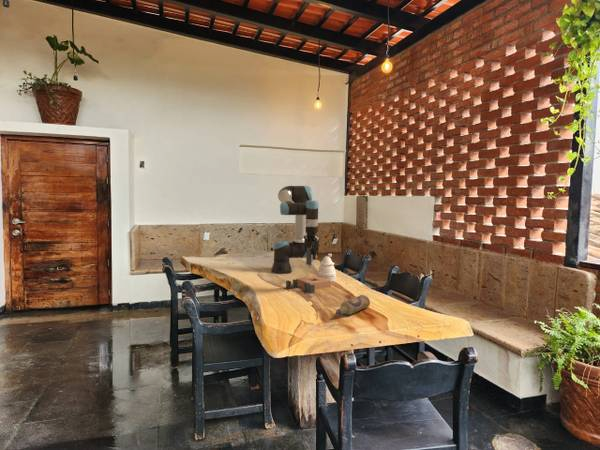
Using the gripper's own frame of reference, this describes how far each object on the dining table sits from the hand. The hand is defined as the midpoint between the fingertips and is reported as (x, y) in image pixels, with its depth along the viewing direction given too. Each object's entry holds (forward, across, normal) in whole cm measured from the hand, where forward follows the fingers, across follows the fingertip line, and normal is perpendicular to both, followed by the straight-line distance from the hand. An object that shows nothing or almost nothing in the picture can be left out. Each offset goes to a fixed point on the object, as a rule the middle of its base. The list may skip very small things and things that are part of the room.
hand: (310, 264), depth 230 cm
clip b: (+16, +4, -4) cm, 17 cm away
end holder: (+16, -7, +7) cm, 19 cm away
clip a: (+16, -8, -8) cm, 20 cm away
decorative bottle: (+16, +46, -8) cm, 50 cm away
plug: (+2, 0, 0) cm, 2 cm away
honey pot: (+16, -16, +25) cm, 34 cm away
